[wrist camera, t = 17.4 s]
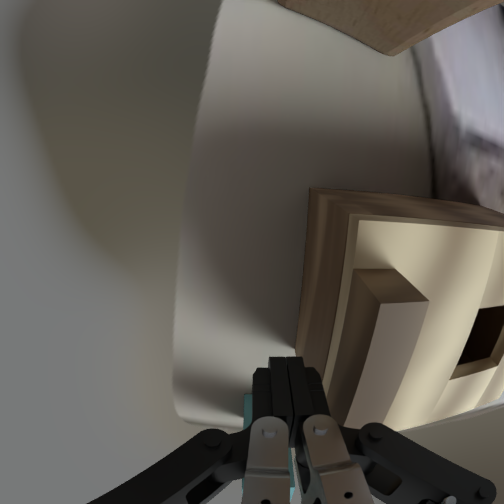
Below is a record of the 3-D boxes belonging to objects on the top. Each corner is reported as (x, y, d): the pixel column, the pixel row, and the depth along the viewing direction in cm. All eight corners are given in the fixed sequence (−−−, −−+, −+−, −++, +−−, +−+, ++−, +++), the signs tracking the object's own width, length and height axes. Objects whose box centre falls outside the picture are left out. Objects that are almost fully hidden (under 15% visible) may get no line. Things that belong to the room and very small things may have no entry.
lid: (551, 233, 12) (590, 253, 8) (492, 390, 17) (514, 420, 13) (349, 213, 12) (392, 243, 8) (310, 430, 17) (319, 481, 13)
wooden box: (480, 205, 21) (549, 232, 12) (447, 336, 25) (491, 388, 17) (309, 187, 21) (348, 212, 12) (294, 349, 25) (309, 427, 17)
